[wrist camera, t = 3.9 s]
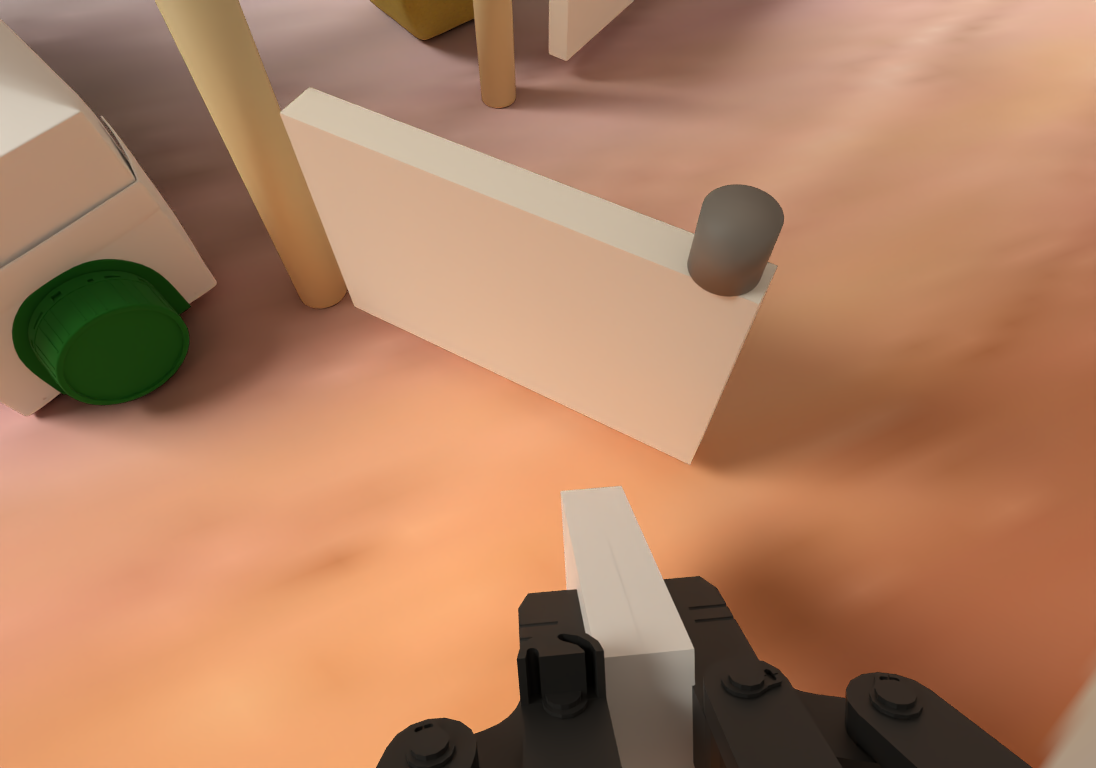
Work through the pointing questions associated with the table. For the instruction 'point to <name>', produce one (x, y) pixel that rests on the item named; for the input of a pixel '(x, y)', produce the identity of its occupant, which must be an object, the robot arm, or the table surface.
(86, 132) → the milk carton
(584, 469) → the table surface
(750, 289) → the gate
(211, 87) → the fence
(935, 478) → the table surface
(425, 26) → the flower pot
